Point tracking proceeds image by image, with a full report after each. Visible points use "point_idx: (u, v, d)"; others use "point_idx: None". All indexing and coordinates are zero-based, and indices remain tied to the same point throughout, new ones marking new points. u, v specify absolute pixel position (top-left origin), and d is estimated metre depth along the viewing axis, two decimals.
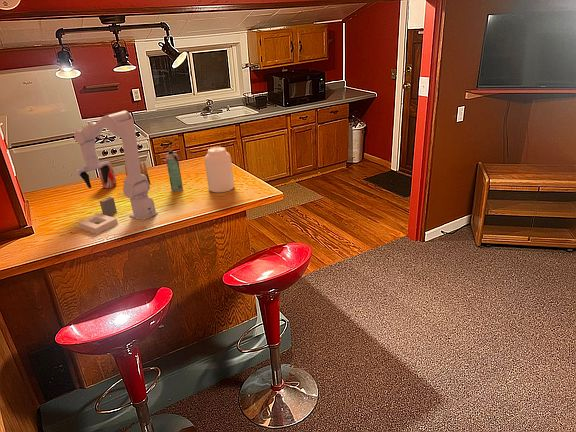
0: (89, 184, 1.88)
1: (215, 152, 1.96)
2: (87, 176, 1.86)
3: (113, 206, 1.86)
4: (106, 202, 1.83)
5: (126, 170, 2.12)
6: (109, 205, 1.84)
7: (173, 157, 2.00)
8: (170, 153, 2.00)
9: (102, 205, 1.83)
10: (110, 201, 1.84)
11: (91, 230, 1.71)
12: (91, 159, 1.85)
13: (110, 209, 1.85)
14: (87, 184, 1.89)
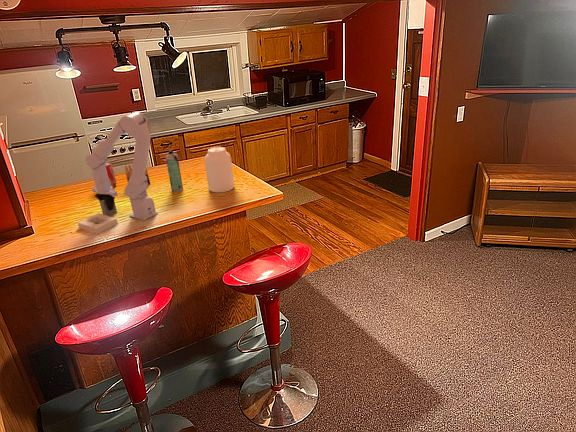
0: None
1: (215, 152, 1.96)
2: (97, 197, 1.83)
3: None
4: None
5: (126, 170, 2.12)
6: None
7: (173, 157, 2.00)
8: (170, 153, 2.00)
9: (102, 205, 1.83)
10: None
11: (91, 230, 1.71)
12: (95, 183, 1.79)
13: None
14: None
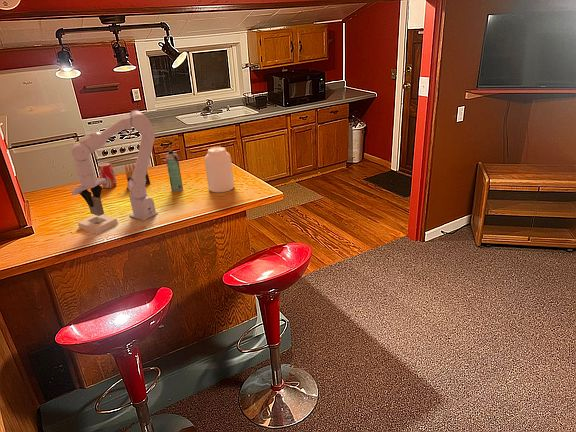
0: (91, 203, 1.71)
1: (215, 152, 1.96)
2: (89, 194, 1.69)
3: None
4: None
5: (126, 170, 2.12)
6: None
7: (173, 157, 2.00)
8: (170, 153, 2.00)
9: (98, 203, 1.72)
10: None
11: (91, 230, 1.71)
12: (88, 177, 1.67)
13: None
14: (88, 203, 1.72)
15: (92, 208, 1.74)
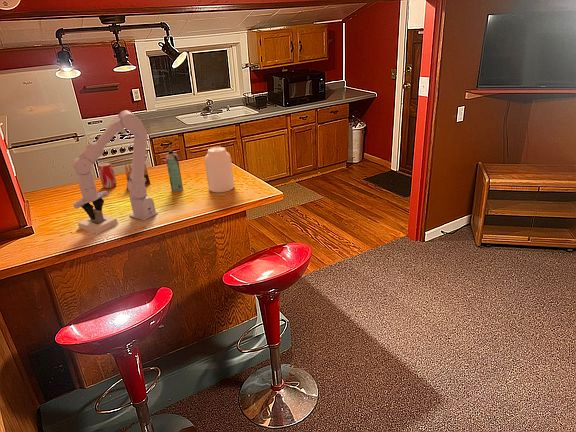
0: (93, 216, 1.72)
1: (215, 152, 1.96)
2: (91, 207, 1.70)
3: None
4: None
5: (126, 170, 2.12)
6: None
7: (173, 157, 2.00)
8: (170, 153, 2.00)
9: (100, 216, 1.73)
10: None
11: (91, 230, 1.71)
12: (90, 190, 1.68)
13: None
14: (90, 216, 1.73)
15: (93, 221, 1.75)
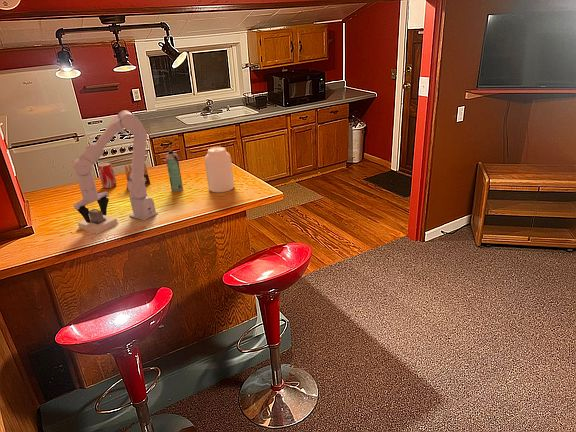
0: (88, 219, 1.71)
1: (215, 152, 1.96)
2: (87, 210, 1.68)
3: None
4: None
5: (126, 170, 2.12)
6: None
7: (173, 157, 2.00)
8: (170, 153, 2.00)
9: (100, 216, 1.73)
10: None
11: (91, 230, 1.71)
12: (90, 191, 1.68)
13: None
14: (85, 219, 1.72)
15: (93, 221, 1.75)
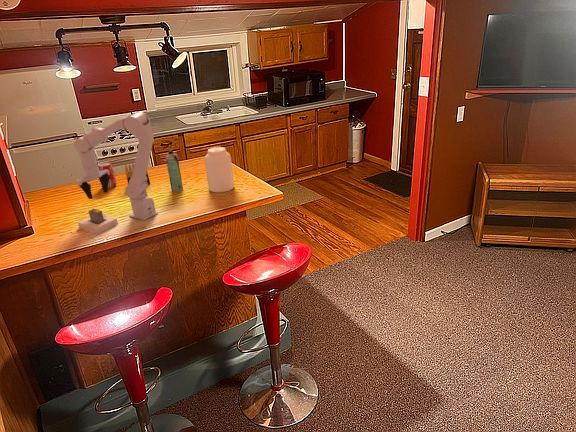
0: (90, 195, 1.78)
1: (215, 152, 1.96)
2: (89, 186, 1.75)
3: None
4: None
5: (126, 170, 2.12)
6: None
7: (173, 157, 2.00)
8: (170, 153, 2.00)
9: (100, 216, 1.73)
10: None
11: (91, 230, 1.71)
12: (92, 168, 1.75)
13: None
14: (88, 195, 1.79)
15: (93, 221, 1.75)
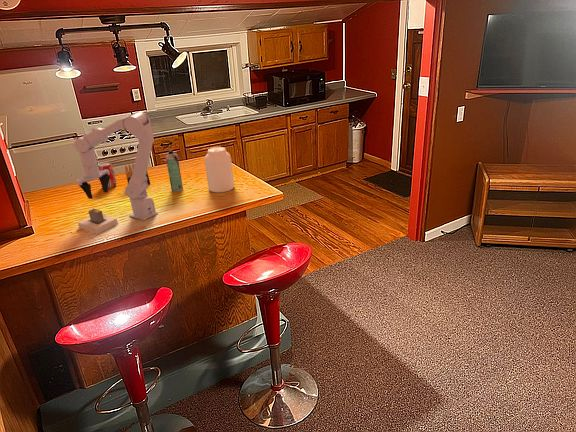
0: (90, 195, 1.78)
1: (215, 152, 1.96)
2: (89, 186, 1.75)
3: None
4: None
5: (126, 170, 2.12)
6: None
7: (173, 157, 2.00)
8: (170, 153, 2.00)
9: (100, 216, 1.73)
10: None
11: (91, 230, 1.71)
12: (92, 168, 1.75)
13: None
14: (88, 195, 1.79)
15: (93, 221, 1.75)
